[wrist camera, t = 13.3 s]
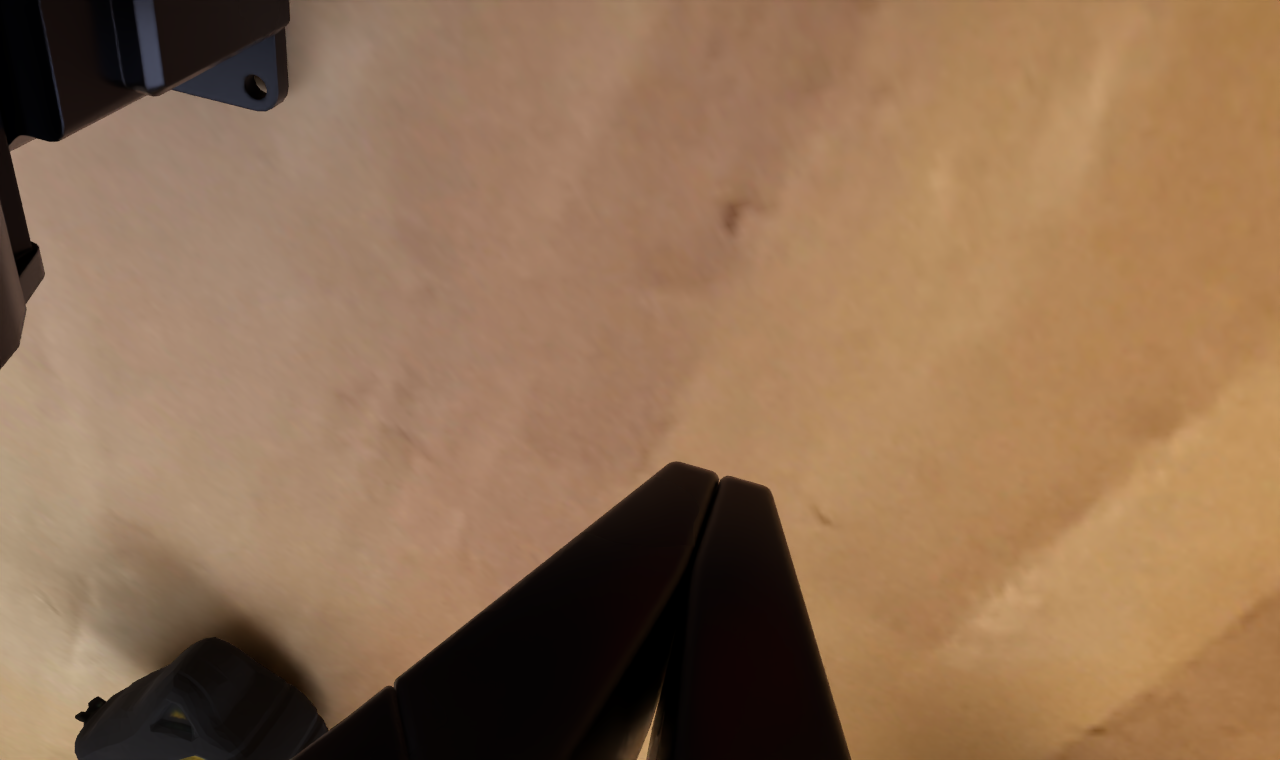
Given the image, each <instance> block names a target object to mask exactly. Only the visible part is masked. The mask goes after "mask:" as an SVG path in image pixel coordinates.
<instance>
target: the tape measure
mask: <svg viewBox="0 0 1280 760" xmlns="http://www.w3.org/2000/svg"><path fill="white" fill-rule="evenodd" d="M88 706H89V708H88V709H87V711H86V712H80V713H79V714H77V715H76V716H75V718H76V719H77V720H79V721H81V722H84V727H83V728H82V730H81V731H80V733H79V734H78V736H77V738H76V741H75V753H76V756H77V758H78V760H290V759H292V758H293V757H294V756H296V755H297V754H298V753H300V752H301V751H302V750H304V749H305V748H306V747H308V746H309V745H310V744H312V743H313V742H315V741H316V740H317V739H319V738H320V737H321V736H323V735H324V734H325V733H327V732H328V728H327V726H326V724H325V722H324V720H323V719H322V718H321V717H320V716H319V715H318V713H317V709H316V708H315V707H314V705H313V704H312V703H311V702H310V701H309V700H308V698H307V697H306V696H305V695H304V694H303V693H302V692H301V691H299V690H298V689H297V688H296V687H295V686H293V685H290V684H288V683H286V681H285V680H284V679H282V678H280V677H279V676H277V675H276V674H274V673H272V672H271V671H270V670H268V669H267V668H265V667H264V666H262V665H261V664H259V663H258V662H256V661H255V660H253V659H252V658H251V657H249V656H248V655H247V654H245V653H244V652H243V651H242V650H240V649H238V648H237V647H235V646H233V645H232V644H230V643H228V642H226V641H224V640H221V639H219V638H216V637H213V638H205V639H203V640H201V641H199V642H196V643H195V644H193V645H191V646H190V647H189V648H187V649H186V650H185V651H184V652H183V653H182V654H180V655H179V656H178V657H177V658H176V659H175V660H174V661H173V662H172V663H171V664H170V665H168V666H166V667H163V668H161V669H159V670H157V671H155V672H152V673H150V674H149V675H147V676H145V677H143V678H141V679H139V680H137V681H135V682H134V683H132V684H131V685H130V686H129V687H127V688H125V689H124V690H122V691H120V692H118V693H117V694H115V695H113V696H112V697H111V698H110V699H109V700H108V701H107V702H106V701H105V700H103V699H102V698H100V697H96V698H94V699H93V700H91V701H90V702H89V703H88Z"/></svg>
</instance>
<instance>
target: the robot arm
mask: <svg viewBox="0 0 1280 760" xmlns="http://www.w3.org/2000/svg"><path fill="white" fill-rule="evenodd" d="M289 21H290V13H289V0H0V369H1V368H2V367H3V366H4V364H5V363H6V362H7V361H8V359H9V358H10V357H11V356H12V355H13V353H14V352H15V351H16V350H17V348H18V347H19V344H20V339H21V334H22V329H23V325H24V320H25V315H26V310H27V309H26V305H25V304H26V303H27V302H28V300H29V299H30V297H31V296H32V294H33V293H34V291H35V290H36V288H37V287H38V285H39V284H40V282H41V281H42V280H43V278H44V275H45V272H44V267H43V263H42V259H41V254H40V250H39V247H38V245H37V244H35V243H33V242H31V241H30V237H29V233H28V228H27V224H26V220H25V215H24V211H23V207H22V202H21V198H20V194H19V189H18V185H17V181H16V176H15V172H14V168H13V163H12V159H11V155H10V151H12V150H14V149H16V148H18V147H20V146H22V145H24V144H26V143H28V142H30V141H32V140H34V139H36V138H38V139H41V140H45V141H49V142H57V141H60V140H62V139H64V138H66V137H68V136H69V135H71V134H73V133H75V132H77V131H79V130H81V129H83V128H85V127H87V126H89V125H91V124H92V123H94V122H96V121H98V120H100V119H102V118H104V117H106V116H108V115H110V114H112V113H114V112H115V111H117V110H119V109H121V108H123V107H125V106H127V105H129V104H131V103H133V102H135V101H137V100H138V99H140V98H142V97H144V96H146V95H150V96H160V95H162V94H164V93H165V92H167V91H169V90H175V91H179V92H183V93H187V94H191V95H195V96H199V97H203V98H207V99H211V100H215V101H219V102H223V103H227V104H231V105H235V106H239V107H243V108H247V109H251V110H255V111H267V110H270V109H272V108H273V107H275V106H277V105H278V104H280V103H281V102H283V101H284V99H285V98H286V96H287V94H288V87H289V86H288V69H287V53H286V36H285V26H286V25H287V24H288V23H289ZM255 75H256V76H258V77H260V78H261V79H262V81H263V82H264V83H265V85H266V89H267V93H265V92H264V91H262V90H260V88H259V87H258V86H257V85H256V82H255V79H254V76H255ZM658 701H659V702H658ZM657 704H658V706H657ZM656 707H657V710H656ZM655 710H656V715H655V719H654V723H653V727H652V732H651V737H650V743H649V748H648V753H647V759H646V760H851V757H850V753H849V750H848V747H847V743H846V740H845V737H844V733H843V730H842V726H841V723H840V720H839V716H838V713H837V710H836V706H835V703H834V700H833V696H832V693H831V690H830V686H829V683H828V679H827V676H826V673H825V669H824V666H823V663H822V659H821V656H820V653H819V649H818V646H817V643H816V639H815V636H814V632H813V629H812V626H811V622H810V619H809V616H808V612H807V609H806V606H805V602H804V599H803V596H802V592H801V589H800V585H799V582H798V579H797V575H796V572H795V569H794V565H793V562H792V559H791V555H790V552H789V549H788V545H787V542H786V539H785V535H784V532H783V528H782V525H781V522H780V518H779V515H778V512H777V508H776V505H775V502H774V498H773V495H772V493H771V491H770V490H769V489H768V488H767V487H766V486H764V485H760V484H757V483H753V482H749V481H746V480H742V479H739V478H735V477H732V476H726V477H723V478H722V479H721V480H720V482H719V478H718V475H717V474H716V473H715V472H713V471H710V470H707V469H703V468H700V467H696V466H693V465H689V464H686V463H682V462H671V463H669V464H668V465H666V466H665V467H664V468H663V469H661V470H660V471H659V472H657V473H656V474H655V475H654V476H652V477H651V478H650V479H649V480H647V481H646V482H645V483H644V484H642V485H641V486H640V487H638V488H637V489H636V490H635V491H633V492H632V493H631V494H630V495H628V496H627V497H626V498H625V499H623V500H622V501H621V502H619V503H618V504H617V505H616V506H614V507H613V508H612V509H611V510H609V511H608V512H607V513H606V514H604V515H603V516H602V517H601V518H599V519H598V520H597V521H595V522H594V523H593V524H592V525H590V526H589V527H588V528H587V529H585V530H584V531H583V532H582V533H580V534H579V535H578V536H576V537H575V538H574V539H573V540H571V541H570V542H569V543H568V544H566V545H565V546H564V547H563V548H561V549H560V550H559V551H557V552H556V553H555V554H554V555H552V556H551V557H550V558H549V559H547V560H546V561H545V562H544V563H542V564H541V565H540V566H539V567H537V568H536V569H535V570H533V571H532V572H531V573H530V574H528V575H527V576H526V577H525V578H523V579H522V580H521V581H520V582H518V583H517V584H516V585H514V586H513V587H512V588H511V589H509V590H508V591H507V592H506V593H504V594H503V595H502V596H501V597H499V598H498V599H497V600H495V601H494V602H493V603H492V604H490V605H489V606H488V607H487V608H485V609H484V610H483V611H482V612H480V613H479V614H478V615H477V616H475V617H474V618H473V619H471V620H470V621H469V622H468V623H466V624H465V625H464V626H463V627H461V628H460V629H459V630H458V631H456V632H455V633H454V634H452V635H451V636H450V637H449V638H447V639H446V640H445V641H444V642H442V643H441V644H440V645H439V646H437V647H436V648H435V649H433V650H432V651H431V652H430V653H428V654H427V655H426V656H425V657H423V658H422V659H421V660H420V661H418V662H417V663H416V664H415V665H413V666H412V667H411V668H409V669H408V670H407V671H406V672H404V673H403V674H402V675H401V676H399V677H398V678H397V679H396V680H395V682H394V687H392V686H386V687H385V688H383V689H382V690H381V691H380V692H378V693H377V694H376V695H375V696H373V697H372V698H371V699H369V700H368V701H367V702H366V703H364V704H363V705H362V706H361V707H359V708H358V709H357V710H356V711H354V712H353V713H352V714H351V715H349V716H348V717H347V718H346V719H344V720H343V721H342V722H340V723H339V724H337V725H336V726H335V727H333V728H332V729H331V730H329V731H328V732H327V733H325V734H324V735H323V736H321V737H320V738H319V739H317V740H316V741H315V742H313V743H312V744H310V745H309V746H308V747H306V748H305V749H304V750H302V751H301V752H300V753H298V754H297V755H296V756H294V757H293V758H292V759H290V760H637V758H638V755H639V753H640V750H641V748H642V746H643V743H644V741H645V738H646V736H647V733H648V731H649V728H650V725H651V722H652V719H653V716H654V713H655Z"/></svg>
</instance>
